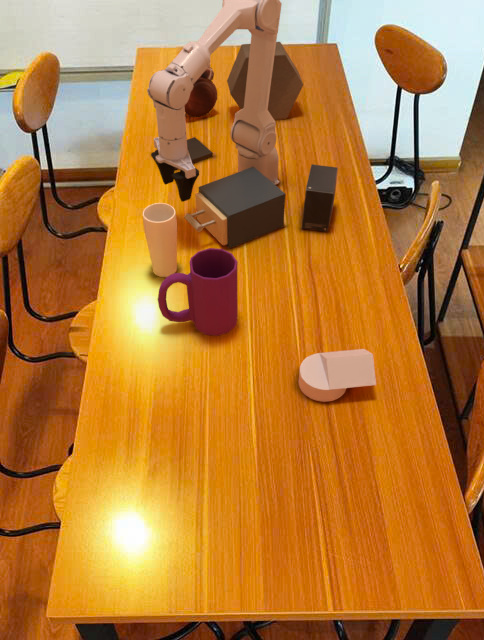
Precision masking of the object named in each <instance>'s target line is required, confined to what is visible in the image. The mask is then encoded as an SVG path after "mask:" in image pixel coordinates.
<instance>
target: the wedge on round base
mask: <svg viewBox="0 0 484 640" xmlns="http://www.w3.org/2000/svg"><path fill="white" fill-rule="evenodd" d="M298 372H299V374H298V387H299V389H300V391H301V392H302V394H303V395H305V397H307V398H309V399H311V400H314V401H317V402H322V403H323V402H324V403H325V402H327V403H328V402H332V401H336V400H338V399H339V398H341V397H342V396H343V395H344V394H345V393H346V391H347V389H350V388H359V387H370V386H377V380H376V378H377V377H376V369H375V361H374V354H373V353H372V352H370V351H368V350H367V349H366V348H356V349H347V350H336V351H325V352H317V353H313V354H310V355H307V357H305V358H304V359H303V360H302V361H301V364H300V366H299V371H298Z"/></svg>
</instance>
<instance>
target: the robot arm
mask: <svg viewBox="0 0 484 640" xmlns="http://www.w3.org/2000/svg"><path fill="white" fill-rule="evenodd" d="M282 4H283V3H282V1H281V0H222V7H221V9H220V10H219V12H218V13H217V14H216V16H215V17H214V18H213V19H212V21H211V22H210V24H209V26H207V28H206V29H205V30H204V32H203V34H202V35H201V36H200V37H199V39H198V40H197V41H188V42H187V43H186V44H184V46H183V47H182V49H181V50H180V51H179V52H178V54H177V55H176V56H175V57H174V58H173V59H172V61H170V63H169V64H168V65H167V67H165V68H164V69H161V70H158V71H156V72H154V73H153V74H152V76H151V77H150V79H149V82H148V88H147V89H146V91H147V95H148V97H149V98H150V99H151V101H152V103H153V108H155V115H156V116H155V117H156V124H157V125H156V126H157V134H158V136H157V137H154V138H153V147H154V148H155V149H156V150H157V151H156V150H154V151H153V152H152V153H150V156H151V158H152V159H153V161H154V163H155V164H156V166H157V169H158V171H159V174H160V177H161V179H162V182H163V184H164V185H169V184H172V183H174V182H175V184H176V187H177V192H178V196H179V199H180V201H181V202H182V203H185V202H186V201H189V200H191V197H192V193H193V189H194V186H195V183H196V181H197V179H198V177H199V176H200V170H199V169H198V168H197V167H195V165H194V163H193V164H192V161H191V158H190V155H189V151H188V150H187V140H188V138H187V137H188V135H187V124H186V123H187V121H186V120H187V119H186V117H185V104H186V103H187V102H188V100H189V97H190V93H191V91H192V89H193V87H194V86H193V84H194V83H195V82H196V81H197V80H198V78H199V77H200V76H201V75H202V74H203V73H204V71H205V70H206V69H207V68H208V67H209V66H210V67H211V55H213V53H214V52H215V51H217V49H218V48H220V46H222V44H223V43H224V42H226V40H227V39H228V38H230V37H231V35H232V34H233V33H234V32H236V30H248V32H249V33H250V35H251V36H250V43H249V44H250V54H249V63H248V73H247V82H246V92H245V101H244V108H243V109H239V110H237V111H236V112H235V113H234V120H233V123H232V125H231V127H230V141H232V142H233V143H234V144H235V149H237V172H240V171H243V170H246V169H248V168H251V167H255V168H256V169H257V170H258V171H259V172H260V173H262V174H263V175H264V176H265V177H266V178H268V179H269V180H270V181H271V182H272V183H274V184H275V185H276V186H277V185H279V184H280V180H278V179H279V161H280V159H279V153H278V150H277V148H276V144H277V131H276V125H277V123H276V122H277V121H276V120H274V119H273V117H272V116H271V114H270V113H269V111H268V102H269V94H270V86H271V78H272V71H273V63H274V55H275V48H276V42H277V39H278V33H279V28H280V27H279V26H280V19H281V13H282ZM174 167H176V168H178V169H177V170H179V171H175V170H174Z"/></svg>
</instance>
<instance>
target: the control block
mask: <svg viewBox="0 0 484 640" xmlns="http://www.w3.org/2000/svg"><path fill="white" fill-rule="evenodd" d="M187 150H188V151H189V155H190V158H191V161H192V164H193V165H194V164H197V163H199V162H202V161H204V160H208V159H210V158H213V152H212V150H211V149H210V148H208V147H207V146H206V145H204V144H203V143H202V142H201V140H199V139H198V138H197V137H195V136H193V137H191V138H187ZM155 151H157V149H156V150H155ZM177 170H179V169H178V168H176V167H174V171H177Z"/></svg>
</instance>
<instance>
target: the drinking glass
mask: <svg viewBox="0 0 484 640" xmlns="http://www.w3.org/2000/svg"><path fill="white" fill-rule="evenodd" d="M176 213H177V212H176V209H175V208H174V206H173V205H171V204H170V203H169V204H168V203H165V202H155V203H151V204H149V205H148V206H146V207H145V208H143V210H142V223H143V231H144V236H145V240H146V244H147V248H148V253H149V257H150V261H151V262H150V263H151V269H152V272H153V273H154V274H155V276H157V277H159V278H166V277H168V276H169V275H171V274H175V273H177V272H178V271H177V270H178V219H177V214H176Z"/></svg>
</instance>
